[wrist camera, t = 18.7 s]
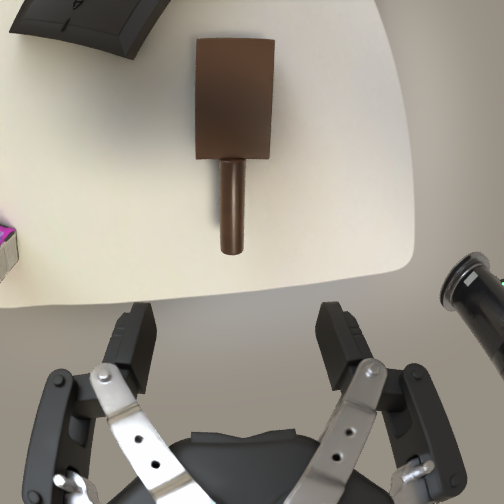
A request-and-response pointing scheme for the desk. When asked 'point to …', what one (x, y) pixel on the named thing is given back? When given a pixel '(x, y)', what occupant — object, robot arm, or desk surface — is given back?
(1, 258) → the candy bar box
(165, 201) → the desk surface
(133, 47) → the picture frame
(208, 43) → the brush
